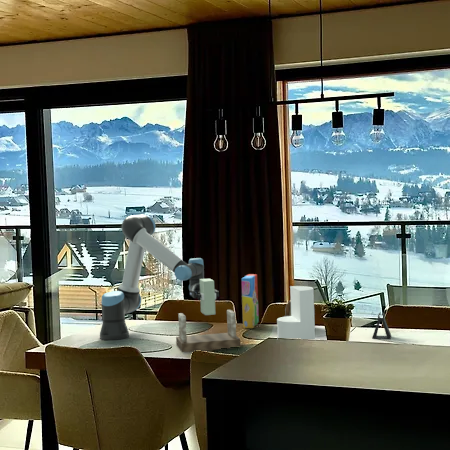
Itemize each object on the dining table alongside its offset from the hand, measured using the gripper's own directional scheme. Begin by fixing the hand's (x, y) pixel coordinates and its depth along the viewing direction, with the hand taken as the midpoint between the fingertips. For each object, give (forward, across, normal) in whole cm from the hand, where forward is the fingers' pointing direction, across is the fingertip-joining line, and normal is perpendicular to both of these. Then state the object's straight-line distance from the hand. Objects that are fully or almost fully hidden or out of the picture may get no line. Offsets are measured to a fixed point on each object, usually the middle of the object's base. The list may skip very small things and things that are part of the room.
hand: (209, 296), depth 356 cm
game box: (-52, -32, -25) cm, 66 cm away
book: (-5, 0, -8) cm, 10 cm away
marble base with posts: (-6, +1, -24) cm, 25 cm away
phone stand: (+7, -83, -25) cm, 87 cm away
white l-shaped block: (+15, -37, -25) cm, 47 cm away
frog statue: (-27, -52, -25) cm, 64 cm away
